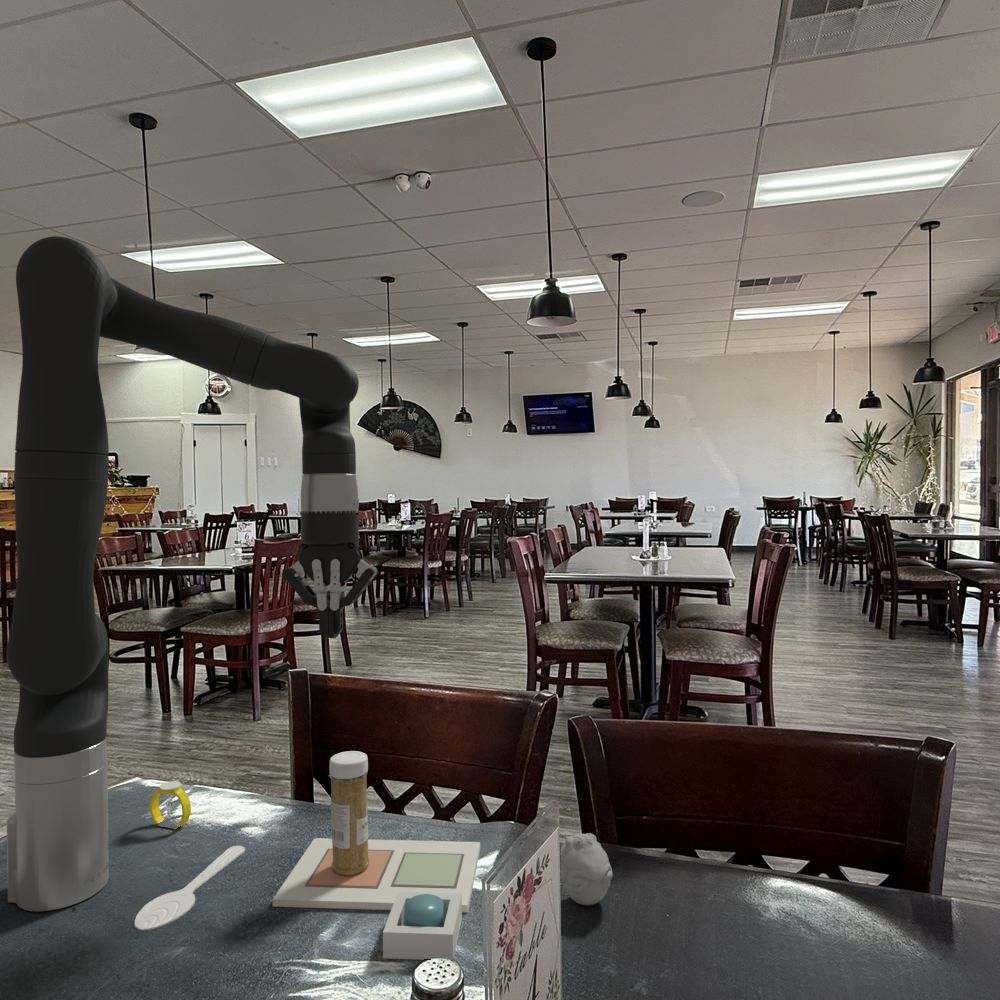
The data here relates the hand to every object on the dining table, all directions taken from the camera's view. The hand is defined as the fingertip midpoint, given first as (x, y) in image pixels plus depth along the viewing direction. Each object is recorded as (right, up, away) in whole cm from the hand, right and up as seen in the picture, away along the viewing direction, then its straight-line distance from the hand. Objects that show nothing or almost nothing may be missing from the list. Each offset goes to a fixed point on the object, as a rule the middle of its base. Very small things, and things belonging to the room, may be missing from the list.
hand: (331, 637), depth 94 cm
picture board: (+9, -27, -9) cm, 30 cm away
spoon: (-14, -28, -11) cm, 33 cm away
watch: (-23, -28, +4) cm, 36 cm away
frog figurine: (+32, -27, -15) cm, 45 cm away
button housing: (+15, -27, -21) cm, 37 cm away
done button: (+15, -26, -21) cm, 37 cm away
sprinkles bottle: (+4, -26, -9) cm, 28 cm away
